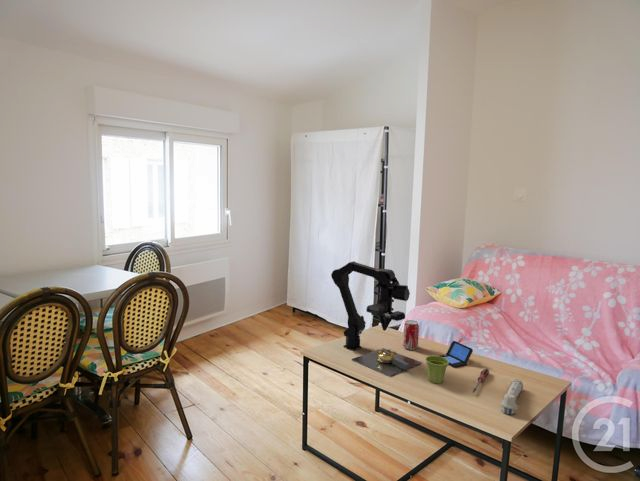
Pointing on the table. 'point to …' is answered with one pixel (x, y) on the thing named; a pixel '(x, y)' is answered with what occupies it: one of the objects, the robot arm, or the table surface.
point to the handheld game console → (458, 355)
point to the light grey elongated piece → (511, 397)
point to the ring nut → (391, 358)
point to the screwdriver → (482, 378)
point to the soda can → (411, 335)
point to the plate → (384, 368)
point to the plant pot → (436, 368)
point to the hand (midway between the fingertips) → (384, 330)
